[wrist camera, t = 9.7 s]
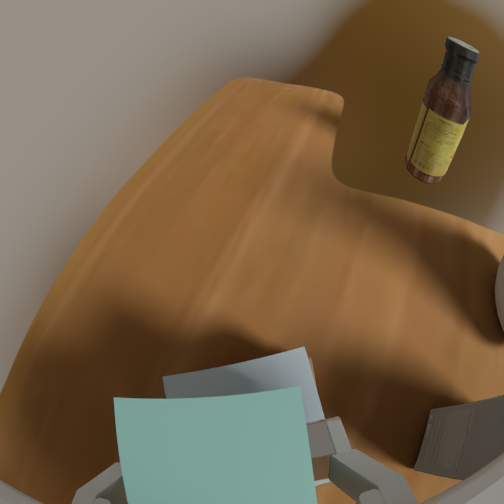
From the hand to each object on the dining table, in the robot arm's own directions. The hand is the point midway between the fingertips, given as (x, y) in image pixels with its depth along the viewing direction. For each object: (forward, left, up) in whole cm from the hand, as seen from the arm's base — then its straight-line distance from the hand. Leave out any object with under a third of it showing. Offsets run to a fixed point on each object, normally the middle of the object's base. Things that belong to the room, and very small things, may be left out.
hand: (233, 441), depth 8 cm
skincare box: (-18, -7, -14) cm, 24 cm away
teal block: (0, 0, -5) cm, 5 cm away
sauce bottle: (-1, -36, -14) cm, 39 cm away
